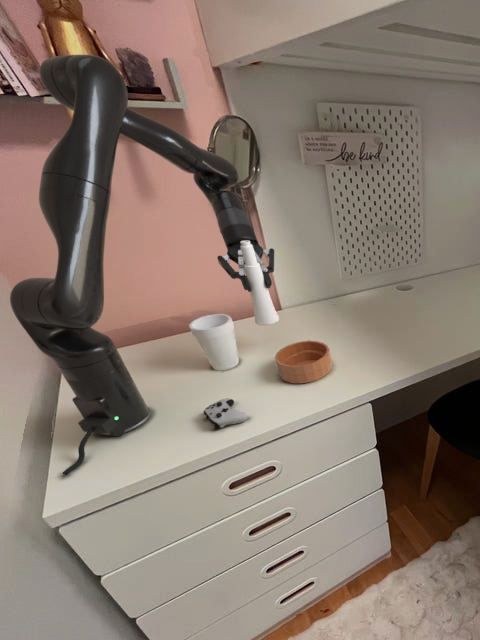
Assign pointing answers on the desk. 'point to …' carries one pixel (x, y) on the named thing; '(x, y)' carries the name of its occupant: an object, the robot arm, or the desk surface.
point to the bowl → (304, 361)
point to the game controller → (224, 413)
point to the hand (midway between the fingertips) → (259, 288)
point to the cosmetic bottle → (258, 287)
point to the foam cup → (216, 340)
